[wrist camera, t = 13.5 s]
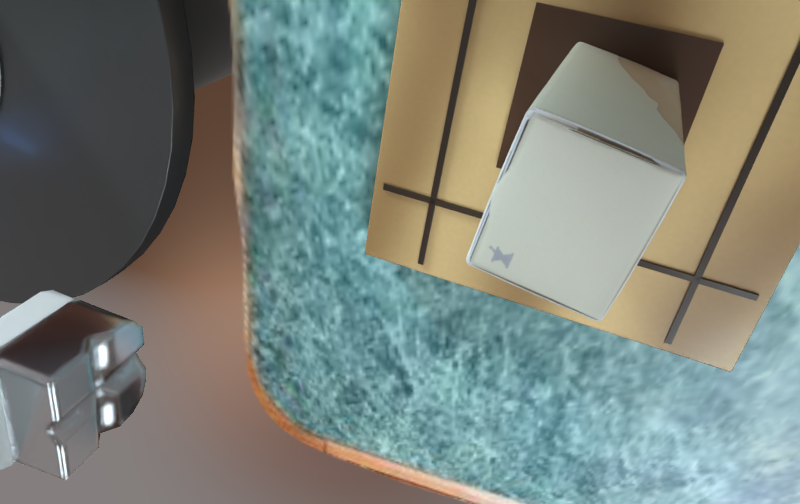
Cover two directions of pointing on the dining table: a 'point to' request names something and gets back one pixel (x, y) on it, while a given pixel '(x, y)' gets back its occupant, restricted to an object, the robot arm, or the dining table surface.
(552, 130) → the box
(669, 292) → the board
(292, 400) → the dining table surface
